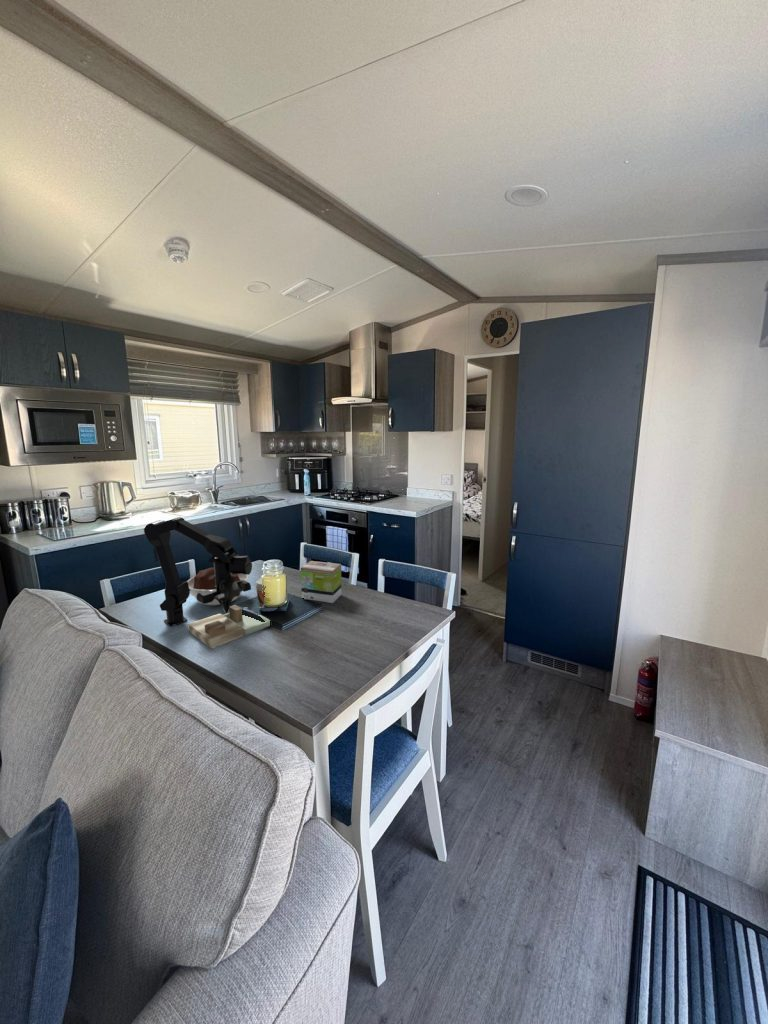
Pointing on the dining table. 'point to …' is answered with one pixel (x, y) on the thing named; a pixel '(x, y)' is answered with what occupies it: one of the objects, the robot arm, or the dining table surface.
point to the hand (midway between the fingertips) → (226, 612)
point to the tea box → (321, 581)
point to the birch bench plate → (230, 634)
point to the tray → (251, 623)
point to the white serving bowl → (209, 583)
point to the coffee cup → (260, 592)
